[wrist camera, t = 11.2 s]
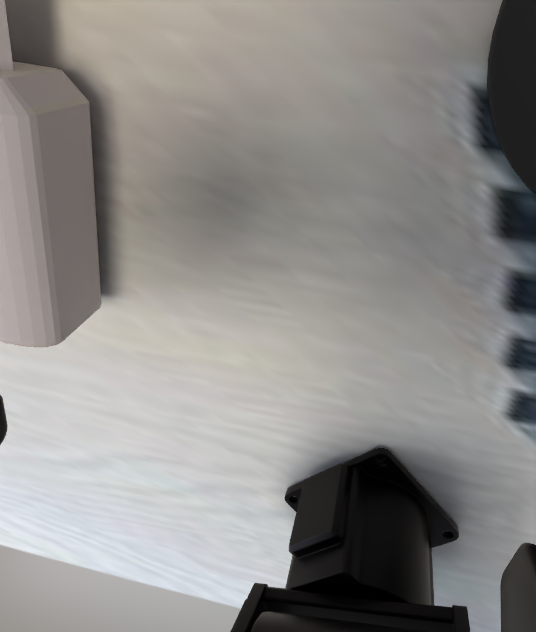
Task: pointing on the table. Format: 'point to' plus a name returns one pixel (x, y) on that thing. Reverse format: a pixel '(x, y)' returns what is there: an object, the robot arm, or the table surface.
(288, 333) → the table surface
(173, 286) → the table surface
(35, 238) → the charger
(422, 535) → the robot arm
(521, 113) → the coaster
